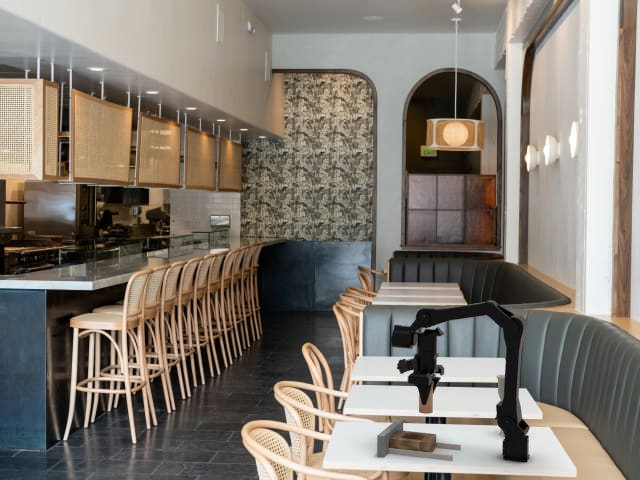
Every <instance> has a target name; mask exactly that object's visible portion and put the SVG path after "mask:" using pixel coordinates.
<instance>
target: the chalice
mask: <svg viewBox="0 0 640 480" xmlns="http://www.w3.org/2000/svg"><path fill="white" fill-rule="evenodd" d="M496 379H497V394H498V397H499V401H503V398H504V382H505V374H497V375H496ZM498 435H499V436H500V437H504V438H505V435H504V432H503V430H501V429H500V430H499V433H498Z"/></svg>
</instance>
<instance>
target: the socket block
mask: <svg viewBox="0 0 640 480" xmlns="http://www.w3.org/2000/svg"><path fill="white" fill-rule="evenodd" d="M436 442H437V433H431V432H430V433H429V432H421V431H410V430H403V431H402V430H399V431H398V432H397V433H396V434H395V435H394V436H393V437H392V438H390V448H394V449H402V450H411V451H420V452H429V453H434V451H435V450H436V449H437V448H436Z"/></svg>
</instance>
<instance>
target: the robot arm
mask: <svg viewBox="0 0 640 480" xmlns="http://www.w3.org/2000/svg"><path fill="white" fill-rule="evenodd" d="M482 316H484V317H485V316H487V317H488V318H490V319H491V321H493V322H494V323H495V324H496V325H497V326H499V327H500V328H502V335H503V340H504V344H505V349H506V350H505V351H506V352H505V364H504V365H505V367H504V369H505V370H504V375H505V382H504V398H503V401H501V400H499V402H497V403H496V405H495V411H496V415H495V417H494V420H496V421H497V426H498V428H500V431H501V430H503V432H504V435H505V437H504V438H503V440H502V450H501V451H502V453H501V454H502V456H503V459H502V460H507V461H516V462H524V463H525V462H526V463H527V462H528V461H529V459H530V455H531V454H530V453H529V452H530V449H529V448H530V444H529V443H530V436H529V435H528V433H529V431H530V427H531V426H530V425H529V424H528V423H527V421H525V419H524V418H523V414H522V413H523V412H522V406H521V402H520V399H519V395H520V377H521V361H522V347H523V344H524V341H525V338H526V334H527V332H528V331H527V330H528V326H529V325H528V321H527V319H526V318H525V317H524V316H522V315H519V314H515V313H513V312H512V311H510V310H509V309H506V307H503V306H501V305H500V304H499V303H498V302H496V301H495V300H492V299H491V300H490V299H489V300H487V301H483V302H478V303H470V304H465V305H464V304H463V305H457V306H451V307H449V306H447V307H446V306H445V307H444V306H431V305H430V306H426V307H422V308H420V309H418V311H417V312H416V314H415V319H414V320H413V322H412V323H411V325H402V324H394V325H393V331H392V332H391V333H392V334H391V337H390V344H391V347H392V348H393V349H394V348H396V349H405V350H406V349H407V350H409V349H410V350H413V348H414V347H415V346H416V353H415V354H414V355H413V358H412V357H411V358H409V359H406V358H402V359H399V360H398V363H397V364H396V365H397V366H396V370H398V371H399V374H400V375H401V374H405V373H407V372H410V371H413V372H411V373H410V374H409V375H408V376H407V384H411V385H414V386H415V387H416V388H417V391H418V396H419V395H420V399H421V403H422V405H426V403H427V401H428V398H429V395H430V393H431V390H432V387H433V395H434V393H435V391H436V389H437V387H438V384H439V383H440V380H441V378H442V377H441V376H443V375H445V367H444V365H442V364H438V362H437V361H438V358H439V353H438V337H442V336H444V335H445V332H444V331H443V330H442V329H441V328H440V327H439V326H437V325H441V324H443V323H446V322H450V321H456V320H463V319H468V318H476V317H482ZM435 326H437V327H436V328H433V329H432V328H431V327H435ZM421 329H424V330H423V331H419V330H421ZM437 374H438V375H440V376H437ZM432 381H433V382H432Z"/></svg>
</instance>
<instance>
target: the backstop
mask: <svg viewBox="0 0 640 480" xmlns="http://www.w3.org/2000/svg"><path fill="white" fill-rule="evenodd" d="M399 430H402V431H404V419H395V420H394V421H393V422H392V423H391V424H390V425H388V426H387V427H386V428H385V429H383V430H382V431H381V432H380V433H378V434H377V436H376V437H377V438H376V439H377V442H376V444H377V445H376V446H377V447H376V452H377V453H376V457H377V458H385V457H386V456H388V454H389V455H398V456H406V457H414V458H424V459H432V460H439V461H447V462H449V461H450V462H453V460H454V458H453V457H454V456H453V455H452V454H447V453H446V454H444V453H437V452H432V453H429V452H420V451H411V450H402V449H394V448H390V438H392V437H393V436H394V435H395V434H396V433H397V432H398V431H399ZM436 449H444V450H455V451H461V450H462V445H461V444H456V443H449V442H437V441H436Z"/></svg>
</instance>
